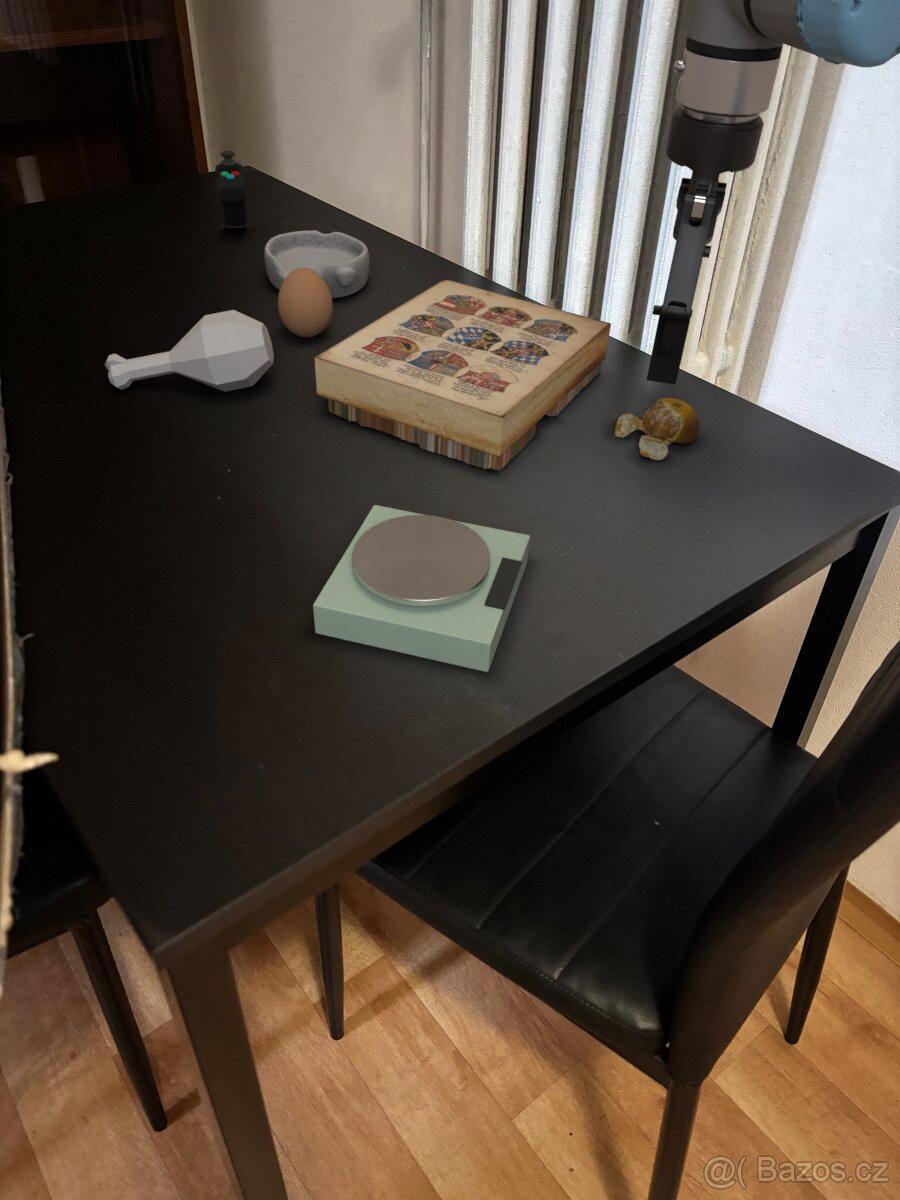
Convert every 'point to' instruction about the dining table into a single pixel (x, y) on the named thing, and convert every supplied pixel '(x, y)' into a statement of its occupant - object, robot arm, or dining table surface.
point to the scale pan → (421, 560)
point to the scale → (426, 631)
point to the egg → (305, 303)
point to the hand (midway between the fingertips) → (668, 349)
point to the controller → (231, 190)
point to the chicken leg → (206, 355)
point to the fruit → (661, 427)
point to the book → (463, 371)
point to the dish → (319, 259)
